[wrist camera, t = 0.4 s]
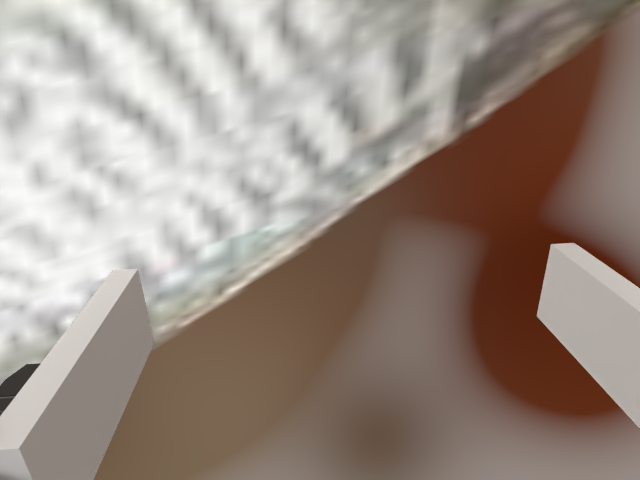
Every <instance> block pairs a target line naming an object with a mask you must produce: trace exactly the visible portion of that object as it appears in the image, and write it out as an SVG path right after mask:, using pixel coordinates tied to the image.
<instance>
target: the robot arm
mask: <svg viewBox="0 0 640 480" xmlns="http://www.w3.org/2000/svg"><path fill="white" fill-rule="evenodd" d="M537 317H538V318H539V319H540V320H541V321H542V322H543V323H544V324H545V326H546V327H547V328H548V329H549V330H550V331H551V332H552V333H553V334H554V335H555V336H556V338H557V339H558V340H559V341H560V342H561V343H562V344H563V345H564V346H565V347H566V349H567V350H568V351H569V352H570V353H571V354H572V355H573V356H574V357H575V358H576V359H577V361H578V362H579V363H580V364H581V365H582V366H583V367H584V368H585V369H586V370H587V371H588V373H589V374H590V375H591V376H592V377H593V378H594V379H595V380H596V381H597V382H598V383H599V384H600V385H601V387H602V388H603V389H604V390H605V391H606V392H607V393H608V394H609V395H610V397H611V398H612V399H613V400H614V401H615V402H616V403H617V404H618V405H619V406H620V407H621V408H622V410H623V411H624V412H625V413H626V414H627V415H628V416H629V417H630V418H631V419H632V420H633V422H634V423H635V424H636V425H637V426H638V427H639V428H640V288H638V287H637V286H635V285H634V284H633V283H631V282H630V281H628V280H627V279H625V278H624V277H622V276H621V275H620V274H618V273H617V272H615V271H614V270H612V269H611V268H609V267H608V266H607V265H605V264H604V263H602V262H601V261H599V260H598V259H597V258H595V257H594V256H592V255H591V254H589V253H588V252H586V251H585V250H584V249H582V248H581V247H579V246H578V245H576V244H575V243H564V244H551V247H550V252H549V257H548V262H547V267H546V272H545V277H544V282H543V287H542V292H541V297H540V302H539V307H538V313H537ZM153 344H154V338H153V334H152V329H151V325H150V320H149V316H148V312H147V307H146V303H145V298H144V294H143V290H142V285H141V281H140V276H139V272H138V269H128V270H112V272H111V273H110V274H109V276H108V277H107V278H106V280H105V281H104V282H103V283H102V285H101V286H100V287H99V289H98V290H97V291H96V293H95V294H94V295H93V296H92V298H91V299H90V300H89V302H88V303H87V304H86V306H85V307H84V308H83V309H82V311H81V312H80V313H79V315H78V316H77V317H76V318H75V320H74V321H73V322H72V324H71V325H70V326H69V328H68V329H67V330H66V331H65V333H64V334H63V335H62V337H61V338H60V339H59V341H58V342H57V343H56V344H55V346H54V347H53V348H52V350H51V351H50V352H49V354H48V355H47V356H46V357H45V359H44V360H43V361H42V363H40V364H26V365H25V366H24V367H22V368H21V369H19V370H18V371H17V372H15V373H14V374H13V375H11V376H10V377H8V378H7V379H6V380H5V381H4V382H3V383H2V384H1V386H0V480H93V479H94V477H95V474H96V472H97V470H98V468H99V465H100V463H101V461H102V459H103V456H104V454H105V452H106V450H107V447H108V445H109V443H110V440H111V438H112V436H113V434H114V432H115V429H116V427H117V425H118V423H119V420H120V418H121V416H122V414H123V411H124V409H125V407H126V405H127V402H128V400H129V398H130V396H131V393H132V391H133V389H134V387H135V384H136V382H137V380H138V378H139V376H140V373H141V371H142V369H143V366H144V364H145V362H146V360H147V358H148V355H149V353H150V351H151V349H152V346H153Z"/></svg>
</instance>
